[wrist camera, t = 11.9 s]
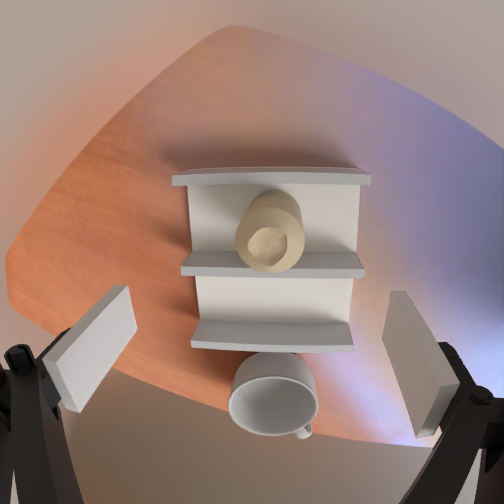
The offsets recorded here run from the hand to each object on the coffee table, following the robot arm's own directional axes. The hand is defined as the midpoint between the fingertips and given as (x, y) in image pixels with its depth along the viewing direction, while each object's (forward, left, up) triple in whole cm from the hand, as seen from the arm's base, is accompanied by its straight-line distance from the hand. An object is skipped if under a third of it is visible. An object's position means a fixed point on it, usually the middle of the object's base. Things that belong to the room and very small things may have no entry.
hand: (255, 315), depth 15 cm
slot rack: (0, +4, -21) cm, 21 cm away
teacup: (-1, +23, -21) cm, 31 cm away
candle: (0, 0, -20) cm, 20 cm away
